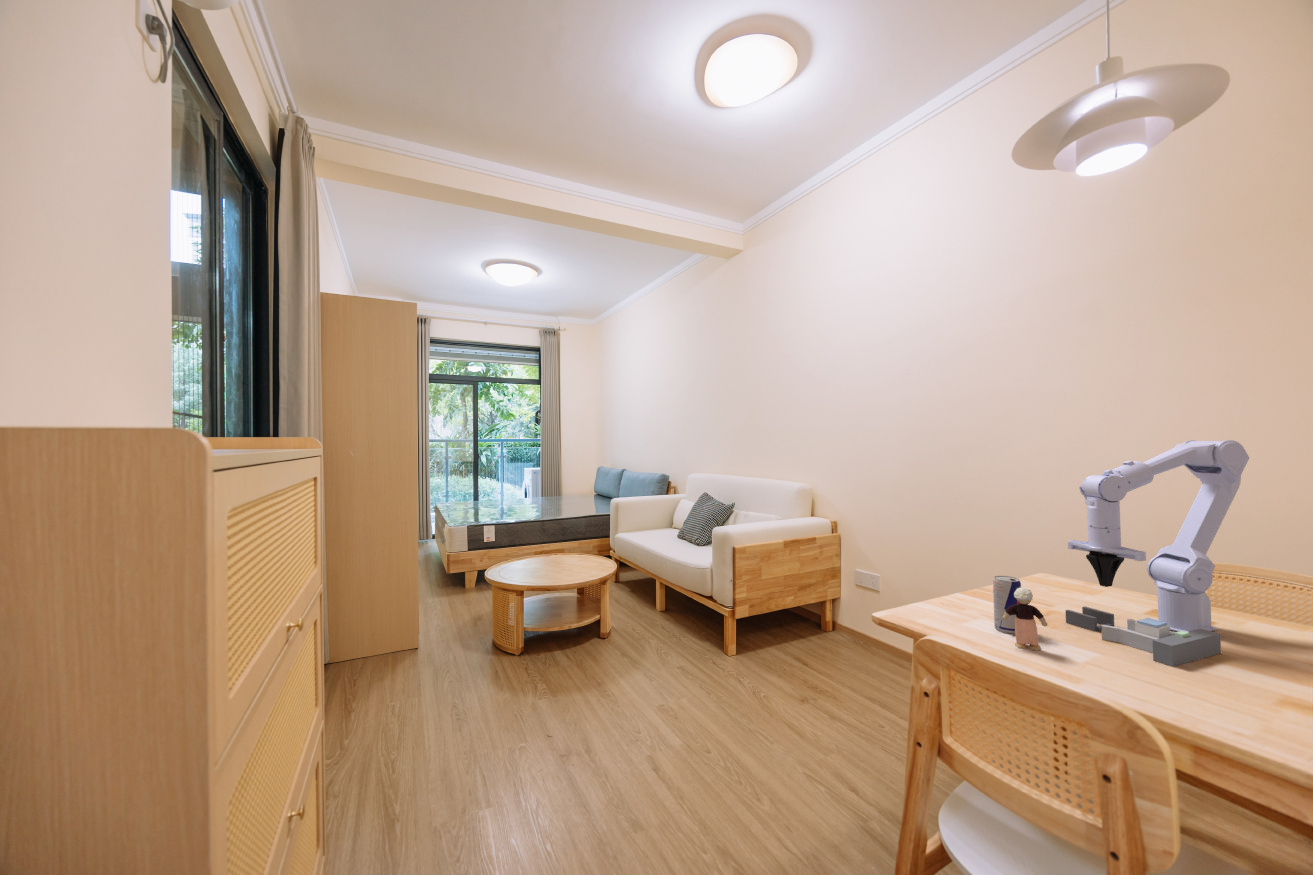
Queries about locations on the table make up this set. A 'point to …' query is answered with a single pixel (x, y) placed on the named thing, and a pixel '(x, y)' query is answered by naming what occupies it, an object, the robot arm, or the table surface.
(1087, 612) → the gray vise
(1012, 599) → the energy drink
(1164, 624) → the plug
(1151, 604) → the table surface
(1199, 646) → the grey forked block
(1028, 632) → the grandmother figurine
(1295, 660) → the table surface
